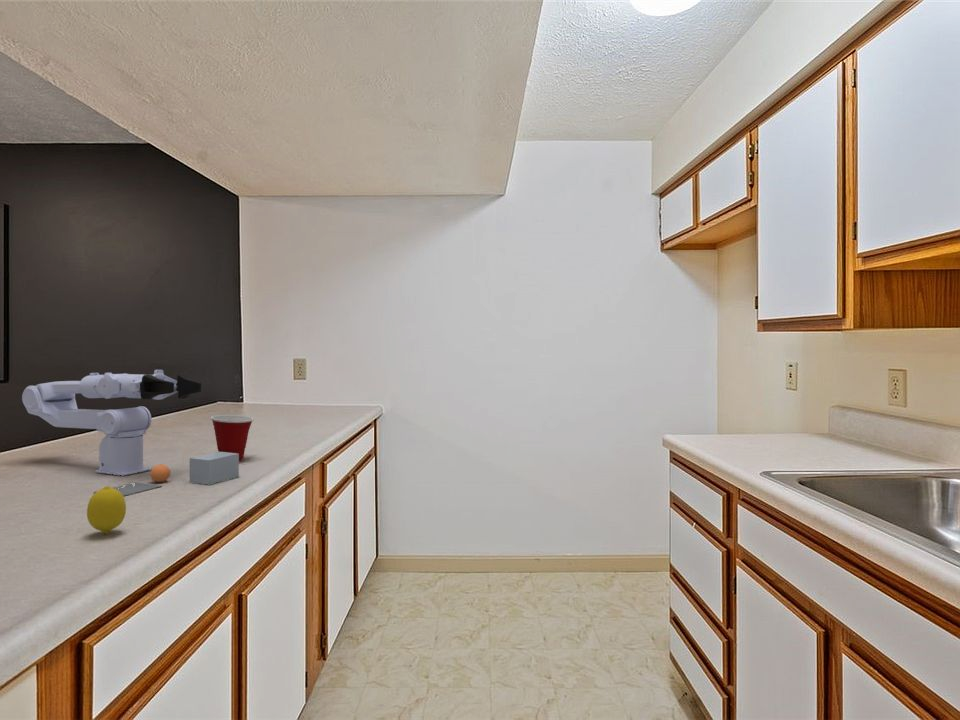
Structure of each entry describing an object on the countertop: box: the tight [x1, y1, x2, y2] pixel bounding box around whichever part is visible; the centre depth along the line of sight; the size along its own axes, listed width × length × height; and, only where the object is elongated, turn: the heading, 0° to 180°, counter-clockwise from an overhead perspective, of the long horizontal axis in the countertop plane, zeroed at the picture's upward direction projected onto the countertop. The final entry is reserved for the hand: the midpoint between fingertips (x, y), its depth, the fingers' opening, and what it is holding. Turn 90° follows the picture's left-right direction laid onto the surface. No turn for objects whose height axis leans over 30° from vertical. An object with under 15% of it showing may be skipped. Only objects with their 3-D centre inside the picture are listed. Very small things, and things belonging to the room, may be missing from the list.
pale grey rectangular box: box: [188, 451, 240, 486], centre depth 140 cm, size 6×9×6 cm, turn 159°
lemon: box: [86, 485, 127, 535], centre depth 100 cm, size 6×6×8 cm
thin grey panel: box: [93, 481, 161, 497], centre depth 129 cm, size 8×10×1 cm
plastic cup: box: [210, 414, 255, 462], centre depth 162 cm, size 11×11×12 cm
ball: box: [149, 464, 171, 483], centre depth 137 cm, size 4×4×4 cm
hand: (186, 387), depth 139 cm, fingers open, 7 cm apart
